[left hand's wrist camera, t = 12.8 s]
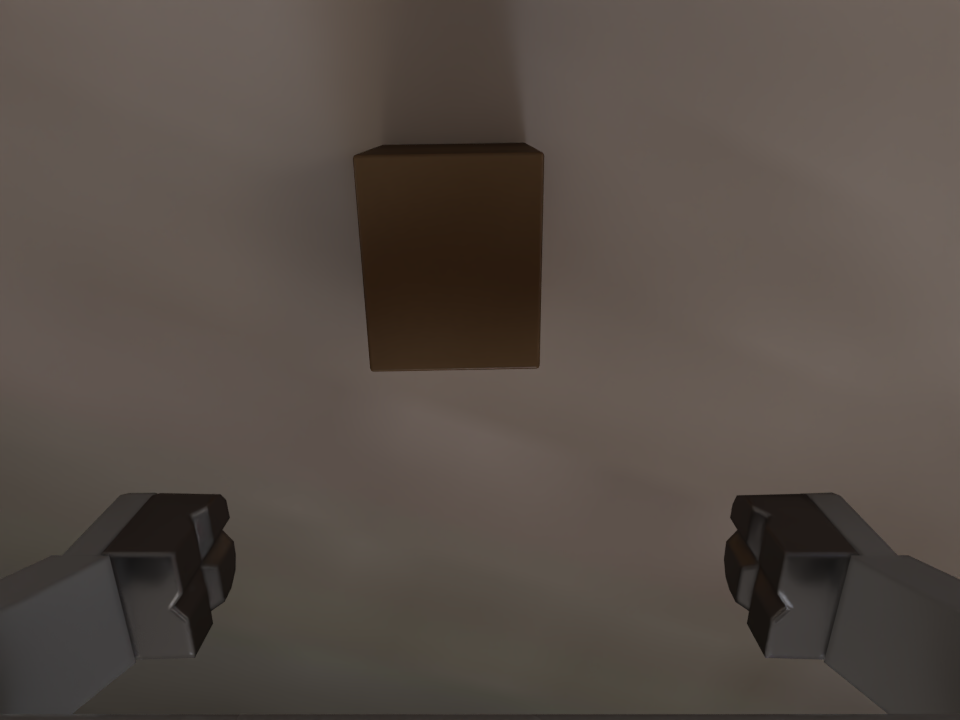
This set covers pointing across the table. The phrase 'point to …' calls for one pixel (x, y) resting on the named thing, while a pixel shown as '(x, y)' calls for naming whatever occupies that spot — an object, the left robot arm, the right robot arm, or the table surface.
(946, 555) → the table surface
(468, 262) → the brick
